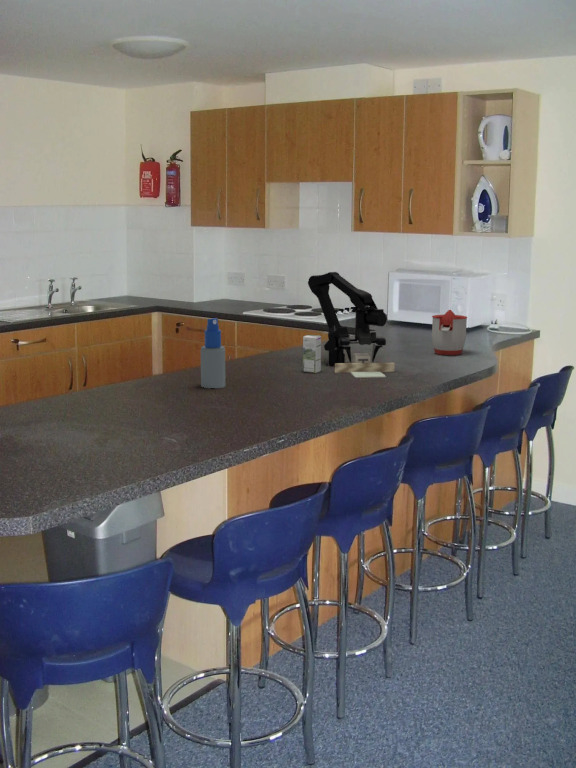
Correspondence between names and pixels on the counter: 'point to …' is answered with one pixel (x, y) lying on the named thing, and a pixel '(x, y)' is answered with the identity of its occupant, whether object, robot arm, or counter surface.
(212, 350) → the spray bottle
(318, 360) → the syrup box
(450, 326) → the citrus juicer
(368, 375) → the sage mat
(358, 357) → the letter cube
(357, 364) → the birch screen
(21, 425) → the counter surface
